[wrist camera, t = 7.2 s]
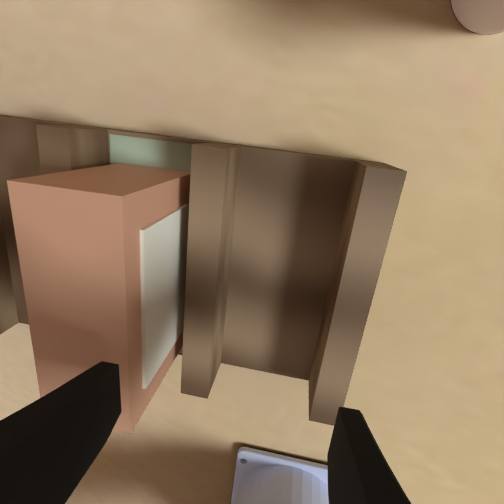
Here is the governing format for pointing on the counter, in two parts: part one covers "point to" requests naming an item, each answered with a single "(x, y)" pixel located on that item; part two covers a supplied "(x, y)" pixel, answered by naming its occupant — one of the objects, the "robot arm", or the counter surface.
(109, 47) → the counter surface
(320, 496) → the robot arm
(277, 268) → the rack
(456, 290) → the counter surface
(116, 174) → the pink rectangular block
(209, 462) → the counter surface
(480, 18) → the smoothie
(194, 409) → the counter surface
